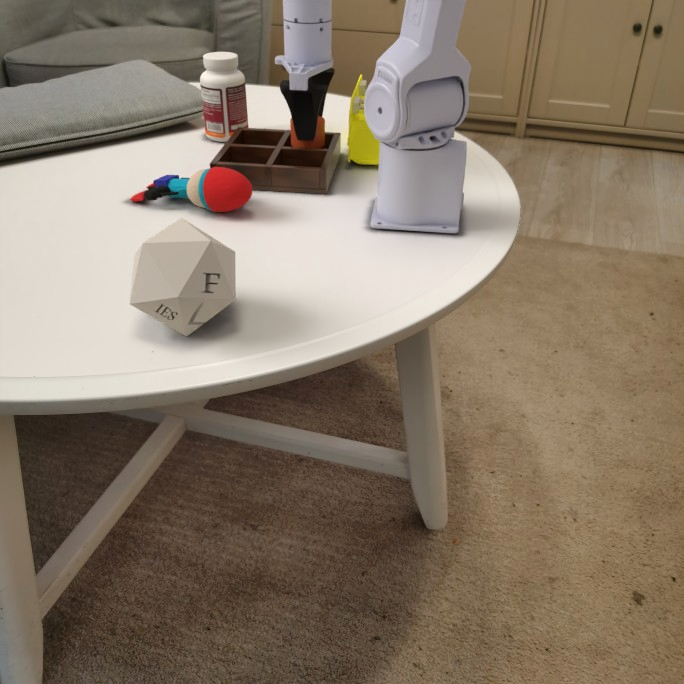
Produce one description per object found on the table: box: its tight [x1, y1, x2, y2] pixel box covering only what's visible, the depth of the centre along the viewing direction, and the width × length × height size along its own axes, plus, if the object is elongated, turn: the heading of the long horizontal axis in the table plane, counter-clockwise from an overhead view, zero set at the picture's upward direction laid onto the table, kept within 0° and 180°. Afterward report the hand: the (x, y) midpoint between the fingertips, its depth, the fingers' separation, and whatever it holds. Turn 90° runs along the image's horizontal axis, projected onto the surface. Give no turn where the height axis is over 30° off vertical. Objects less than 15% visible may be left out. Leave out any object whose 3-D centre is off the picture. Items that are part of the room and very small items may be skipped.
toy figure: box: [129, 167, 253, 213], centre depth 80 cm, size 8×5×15 cm
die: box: [129, 217, 237, 338], centre depth 59 cm, size 8×9×10 cm
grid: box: [209, 127, 342, 195], centre depth 90 cm, size 14×14×3 cm
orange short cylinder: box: [289, 116, 326, 148], centre depth 91 cm, size 4×4×3 cm
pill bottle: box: [199, 51, 250, 143], centre depth 99 cm, size 6×6×11 cm
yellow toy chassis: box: [347, 74, 380, 166], centre depth 96 cm, size 16×6×8 cm, turn 173°
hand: (308, 133), depth 91 cm, fingers closed on orange short cylinder, 4 cm apart
